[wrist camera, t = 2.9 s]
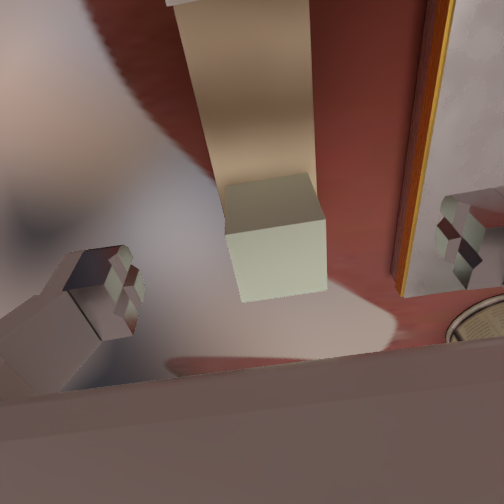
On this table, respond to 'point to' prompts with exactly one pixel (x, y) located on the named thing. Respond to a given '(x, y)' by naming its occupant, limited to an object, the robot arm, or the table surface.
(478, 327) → the coffee can
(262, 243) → the pale green cube
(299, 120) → the checkered beige brown block
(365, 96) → the table surface
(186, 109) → the table surface
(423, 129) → the dock
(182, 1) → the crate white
